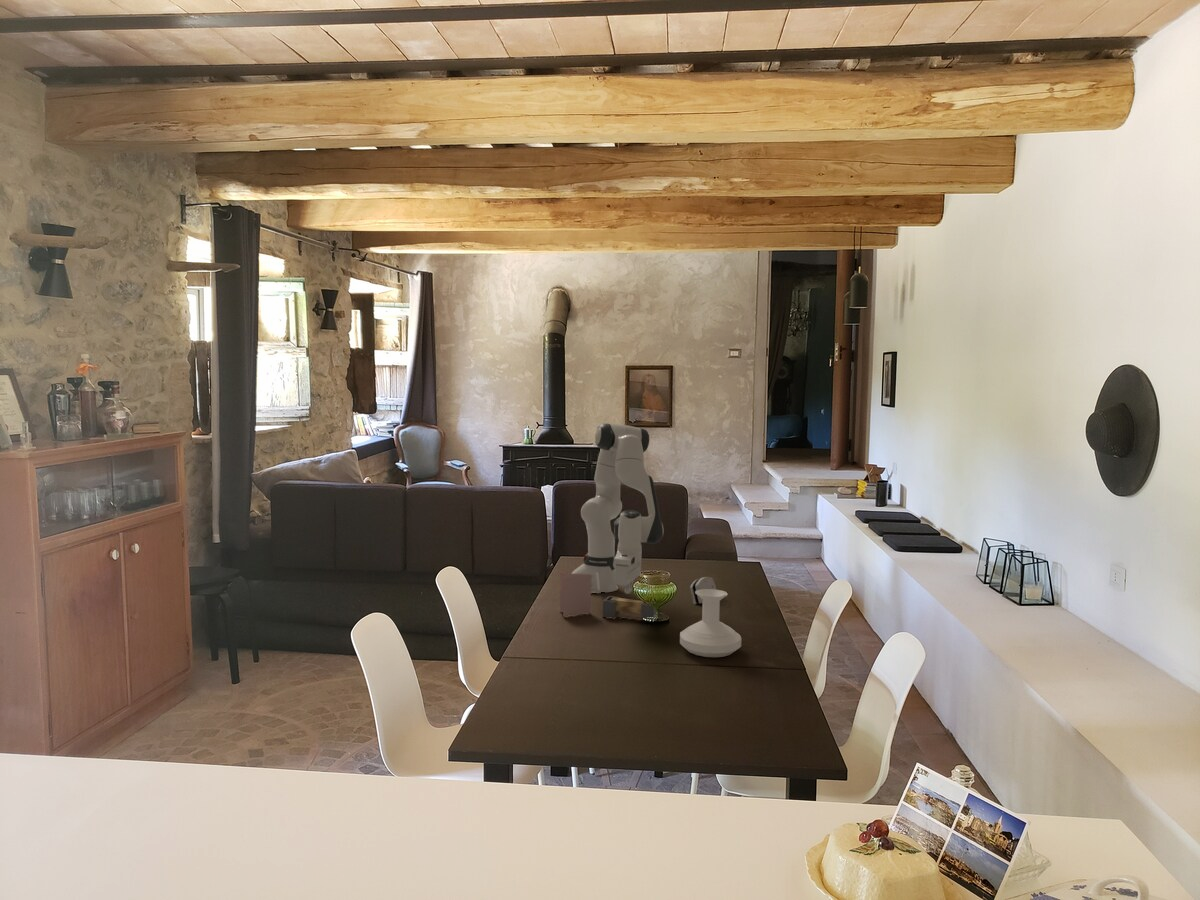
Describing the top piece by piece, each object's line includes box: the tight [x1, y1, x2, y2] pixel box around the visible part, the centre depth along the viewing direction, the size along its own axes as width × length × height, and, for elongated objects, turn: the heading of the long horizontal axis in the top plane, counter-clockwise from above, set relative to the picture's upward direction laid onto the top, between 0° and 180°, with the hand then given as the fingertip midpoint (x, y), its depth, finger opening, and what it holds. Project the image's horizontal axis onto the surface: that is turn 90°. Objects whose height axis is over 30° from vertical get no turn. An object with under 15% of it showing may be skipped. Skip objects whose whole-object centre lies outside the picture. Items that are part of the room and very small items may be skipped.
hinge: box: [689, 576, 718, 605], centre depth 327 cm, size 17×5×10 cm, turn 149°
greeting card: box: [559, 572, 592, 617], centre depth 303 cm, size 11×7×15 cm, turn 84°
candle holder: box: [679, 588, 742, 658], centre depth 265 cm, size 20×20×19 cm
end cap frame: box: [602, 595, 656, 620], centre depth 301 cm, size 19×7×6 cm, turn 71°
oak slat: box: [610, 596, 648, 615], centre depth 301 cm, size 15×4×4 cm, turn 67°
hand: (627, 592), depth 301 cm, fingers closed
